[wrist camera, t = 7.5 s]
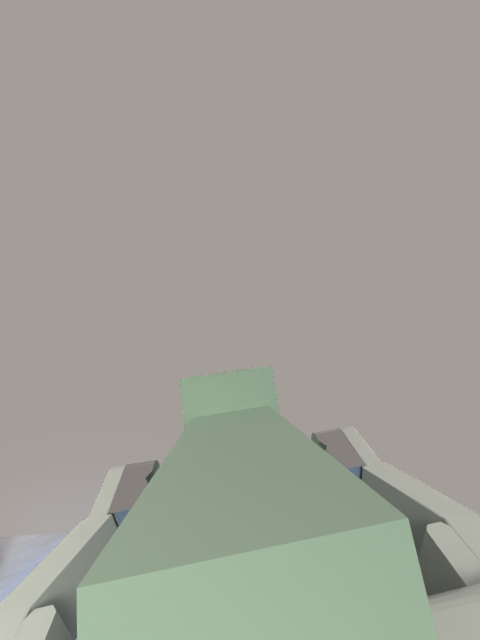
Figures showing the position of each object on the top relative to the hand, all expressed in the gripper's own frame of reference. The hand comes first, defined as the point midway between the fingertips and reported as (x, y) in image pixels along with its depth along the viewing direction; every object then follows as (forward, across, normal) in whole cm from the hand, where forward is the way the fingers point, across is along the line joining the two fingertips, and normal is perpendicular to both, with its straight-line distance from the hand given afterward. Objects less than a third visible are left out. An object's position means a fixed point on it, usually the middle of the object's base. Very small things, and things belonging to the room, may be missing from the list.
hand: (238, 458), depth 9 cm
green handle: (0, 0, +3) cm, 3 cm away
